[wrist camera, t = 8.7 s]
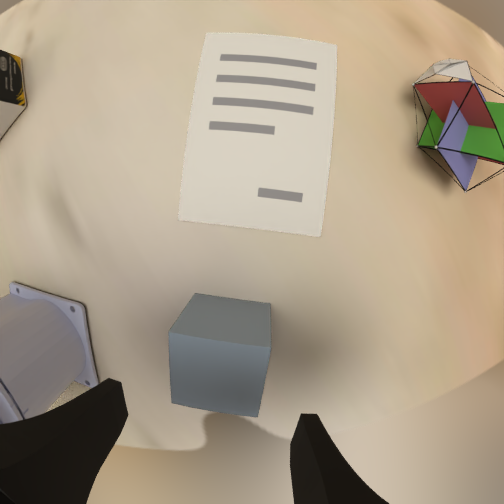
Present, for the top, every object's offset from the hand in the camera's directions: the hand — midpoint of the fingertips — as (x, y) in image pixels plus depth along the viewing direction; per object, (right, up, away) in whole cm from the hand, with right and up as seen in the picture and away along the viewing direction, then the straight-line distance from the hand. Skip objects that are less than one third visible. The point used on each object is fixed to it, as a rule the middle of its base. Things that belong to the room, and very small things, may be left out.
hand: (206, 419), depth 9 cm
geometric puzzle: (+14, +14, +4) cm, 20 cm away
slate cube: (0, +2, +8) cm, 8 cm away
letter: (+2, +14, +5) cm, 15 cm away
